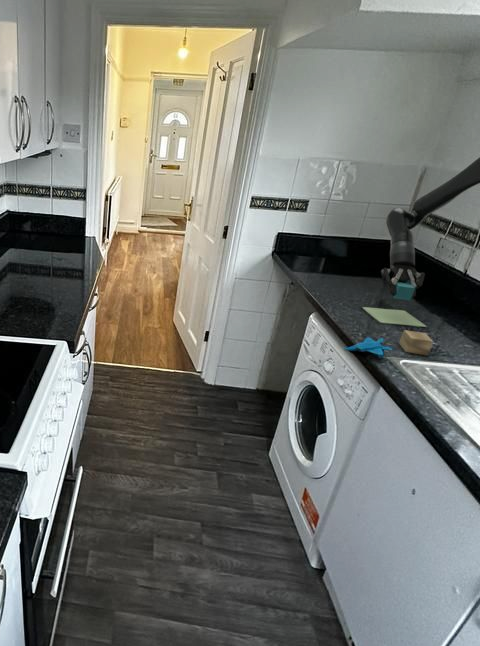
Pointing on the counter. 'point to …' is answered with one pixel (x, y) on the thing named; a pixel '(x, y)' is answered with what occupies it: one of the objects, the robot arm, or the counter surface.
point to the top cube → (404, 291)
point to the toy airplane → (370, 347)
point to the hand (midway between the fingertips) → (402, 296)
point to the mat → (393, 316)
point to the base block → (415, 342)
